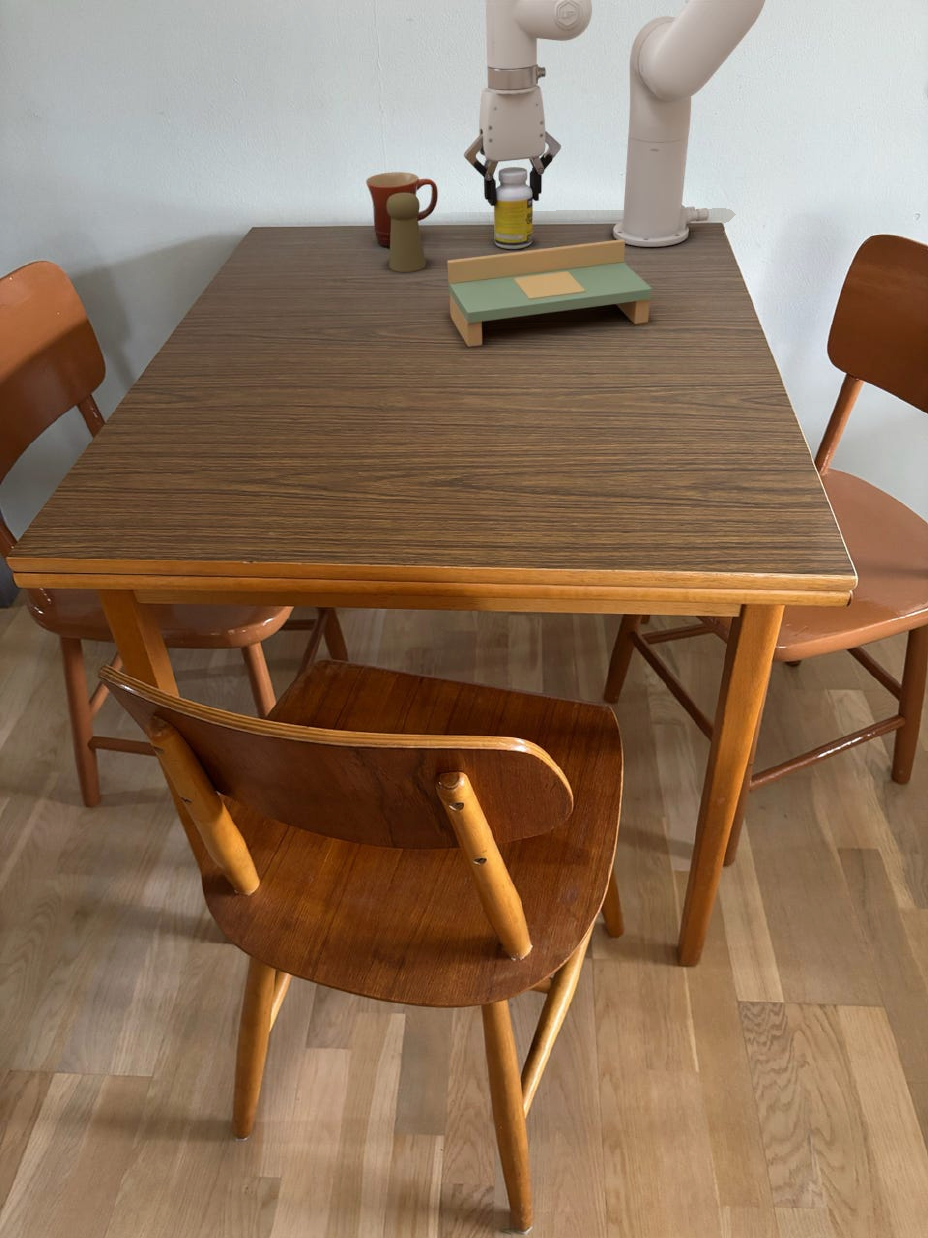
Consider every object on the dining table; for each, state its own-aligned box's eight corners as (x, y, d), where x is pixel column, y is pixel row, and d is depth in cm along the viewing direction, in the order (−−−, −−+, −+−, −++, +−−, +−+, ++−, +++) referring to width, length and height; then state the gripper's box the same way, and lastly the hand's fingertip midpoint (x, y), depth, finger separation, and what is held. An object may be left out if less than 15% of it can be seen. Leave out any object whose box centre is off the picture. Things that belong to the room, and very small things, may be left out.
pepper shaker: (421, 272, 153) (416, 200, 146) (385, 271, 154) (378, 199, 147) (430, 259, 158) (425, 188, 151) (394, 258, 159) (388, 188, 152)
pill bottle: (525, 251, 159) (526, 177, 151) (489, 248, 161) (487, 175, 153) (537, 239, 163) (537, 166, 156) (501, 236, 165) (500, 164, 158)
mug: (379, 253, 161) (373, 189, 154) (366, 238, 167) (360, 175, 161) (447, 243, 164) (443, 179, 157) (432, 228, 170) (428, 167, 164)
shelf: (619, 293, 143) (622, 238, 138) (649, 323, 134) (654, 266, 129) (450, 315, 139) (447, 260, 134) (468, 348, 130) (466, 290, 125)
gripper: (558, 69, 150) (556, 189, 162) (451, 79, 148) (456, 200, 159) (573, 77, 145) (570, 201, 156) (462, 88, 142) (467, 213, 153)
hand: (513, 200), depth 158 cm, fingers open, 6 cm apart
